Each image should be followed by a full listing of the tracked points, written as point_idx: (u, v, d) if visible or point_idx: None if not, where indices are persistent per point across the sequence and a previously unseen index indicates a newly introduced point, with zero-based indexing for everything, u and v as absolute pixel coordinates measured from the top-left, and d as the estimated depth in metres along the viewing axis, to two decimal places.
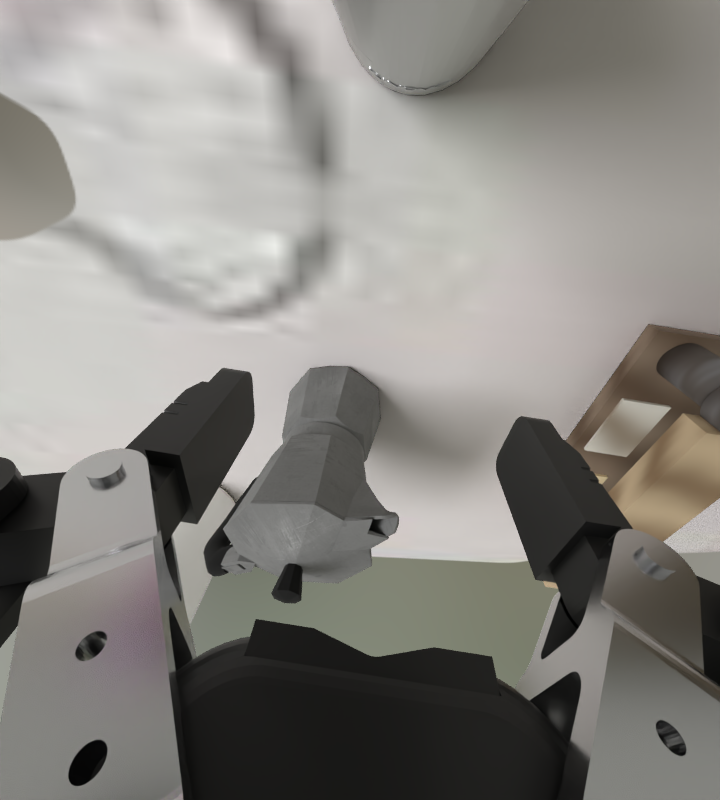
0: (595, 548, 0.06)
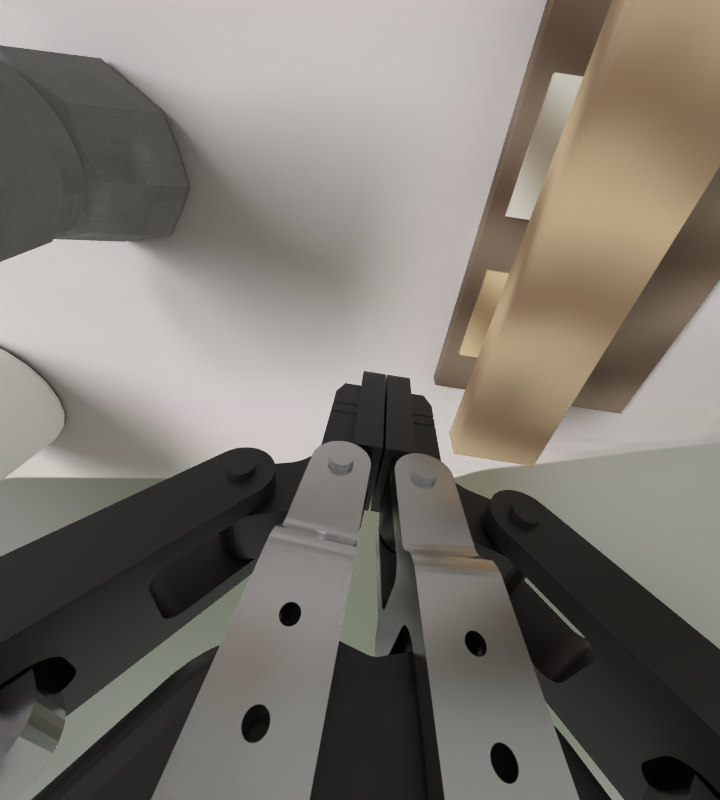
0: (394, 471, 0.07)
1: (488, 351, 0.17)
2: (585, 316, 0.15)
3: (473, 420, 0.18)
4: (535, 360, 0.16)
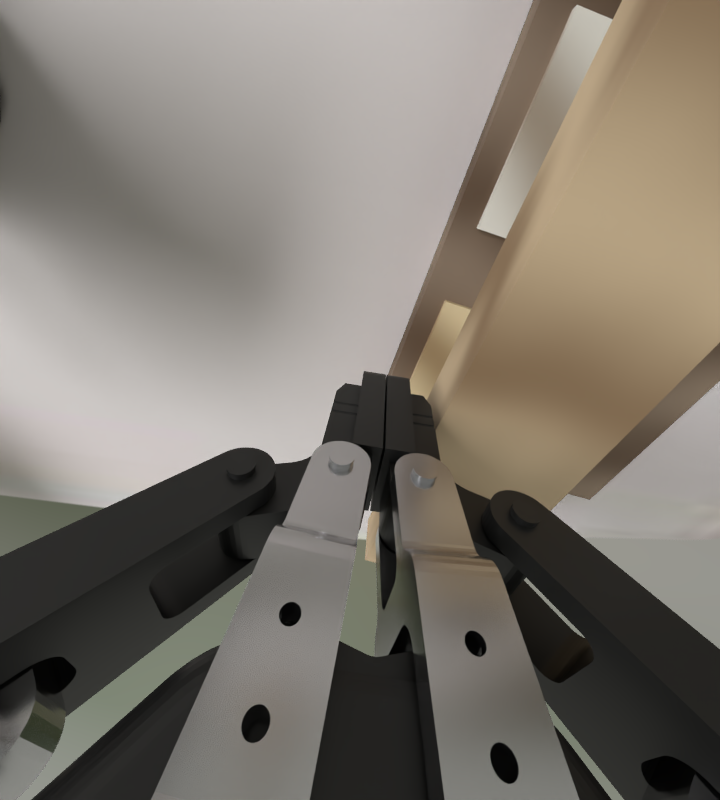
0: (393, 471, 0.07)
1: None
2: (575, 412, 0.09)
3: None
4: (490, 462, 0.10)
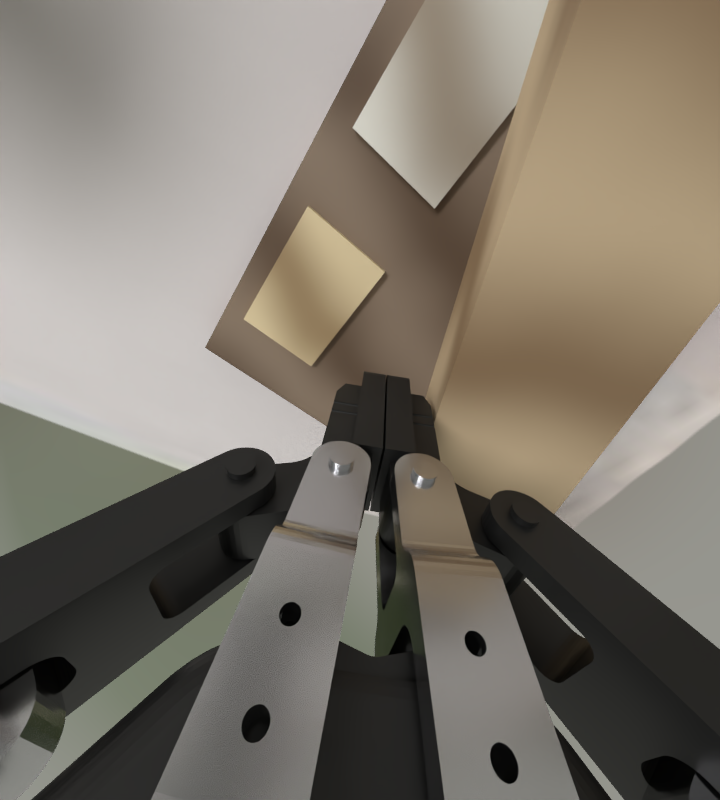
0: None
1: None
2: (572, 397, 0.08)
3: None
4: (493, 456, 0.10)
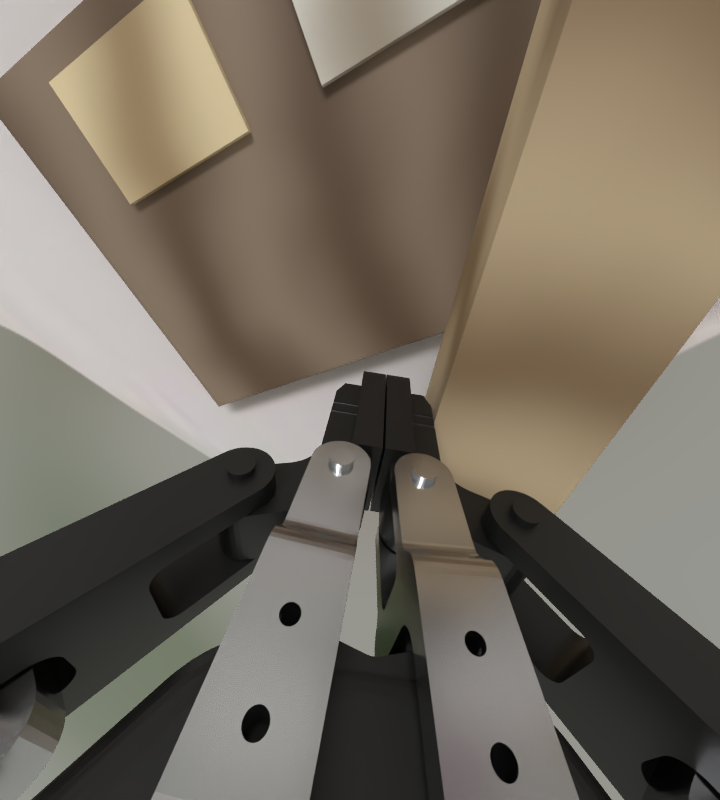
0: (394, 472, 0.07)
1: None
2: (572, 395, 0.08)
3: None
4: (493, 455, 0.10)
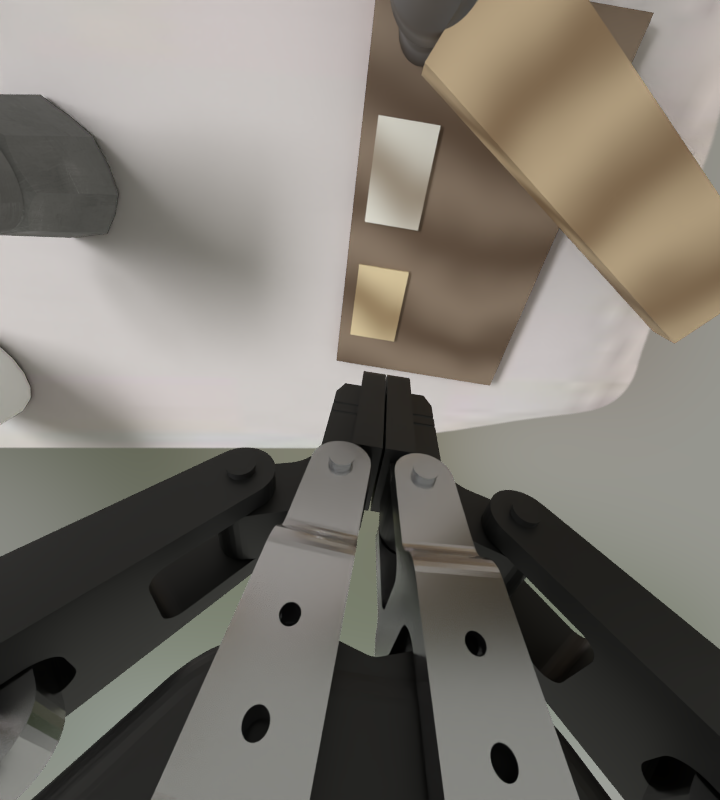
0: (394, 472, 0.07)
1: (605, 271, 0.19)
2: (647, 182, 0.16)
3: (657, 312, 0.19)
4: (649, 238, 0.17)
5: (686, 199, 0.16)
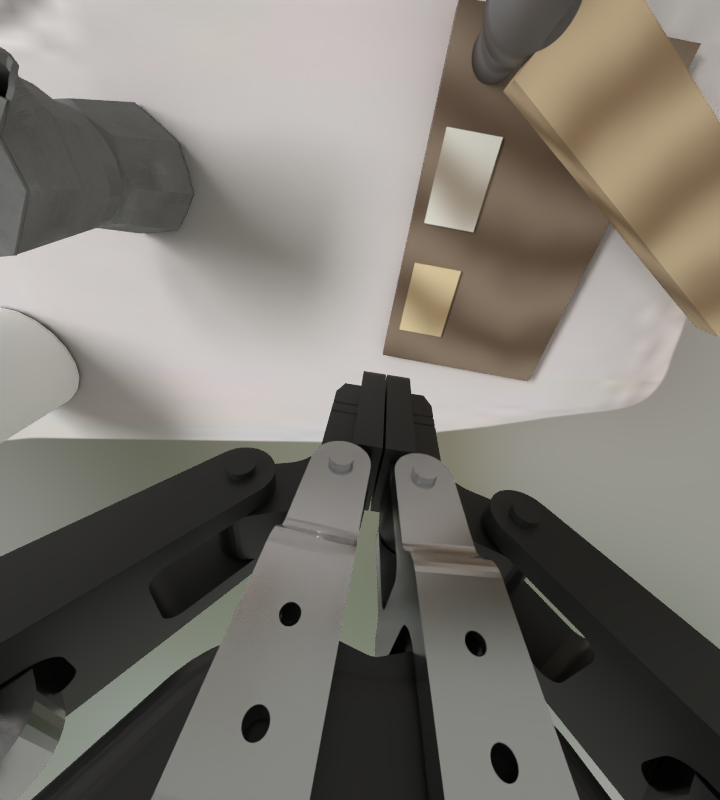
0: (394, 471, 0.07)
1: (657, 268, 0.20)
2: (703, 188, 0.17)
3: (704, 307, 0.21)
4: (702, 238, 0.19)
5: None
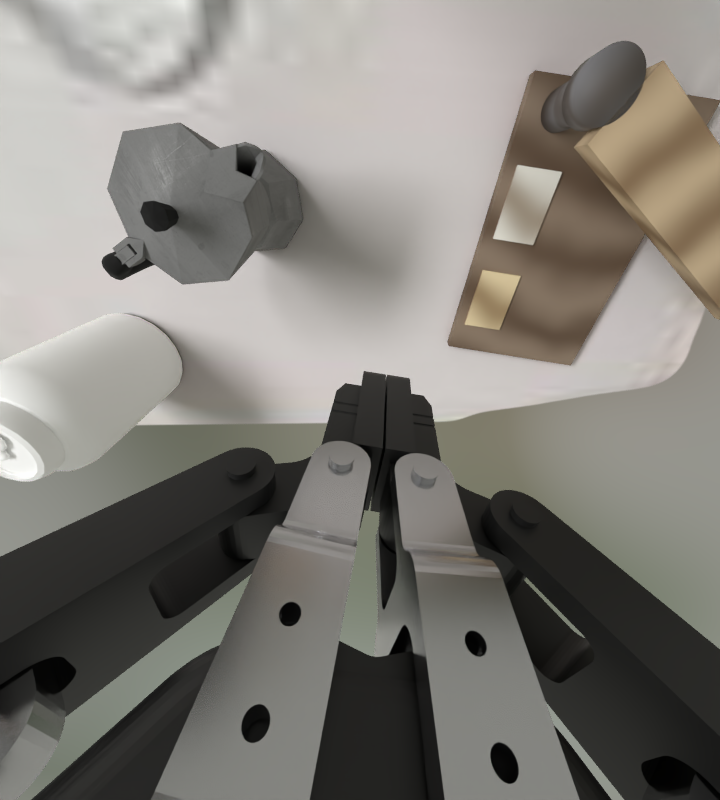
0: (394, 471, 0.07)
1: (686, 274, 0.27)
2: None
3: None
4: None
5: None
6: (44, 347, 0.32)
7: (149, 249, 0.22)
